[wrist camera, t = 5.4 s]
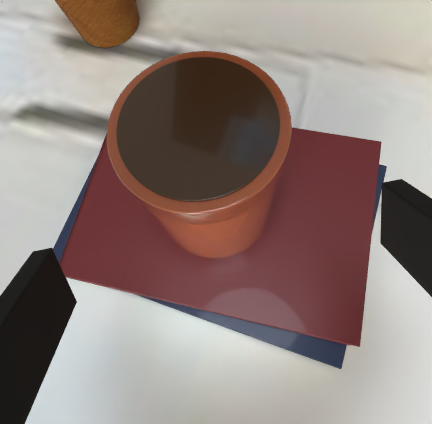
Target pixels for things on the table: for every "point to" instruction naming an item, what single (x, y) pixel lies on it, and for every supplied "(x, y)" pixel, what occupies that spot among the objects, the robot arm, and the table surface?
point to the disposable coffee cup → (102, 20)
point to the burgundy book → (253, 255)
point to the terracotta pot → (202, 148)
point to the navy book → (285, 339)
